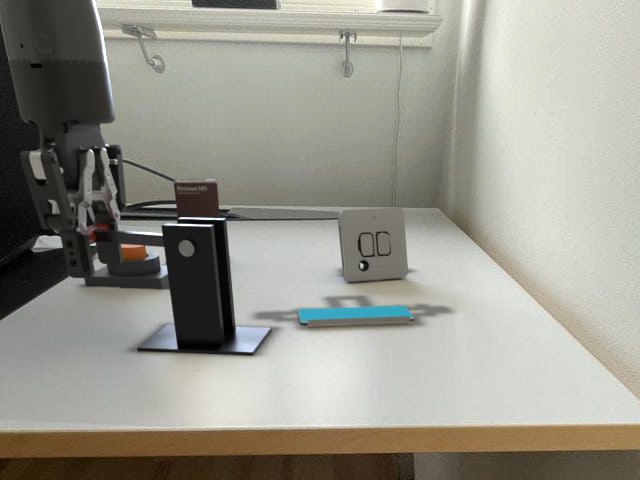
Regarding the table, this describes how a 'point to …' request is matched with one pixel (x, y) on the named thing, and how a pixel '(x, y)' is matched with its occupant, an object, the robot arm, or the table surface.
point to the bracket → (201, 293)
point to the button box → (132, 274)
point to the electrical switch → (373, 244)
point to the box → (196, 198)
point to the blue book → (355, 316)
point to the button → (133, 251)
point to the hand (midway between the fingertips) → (97, 269)
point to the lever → (123, 236)
